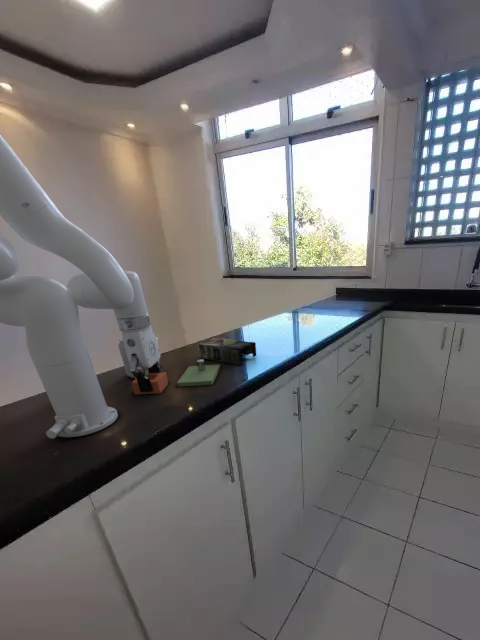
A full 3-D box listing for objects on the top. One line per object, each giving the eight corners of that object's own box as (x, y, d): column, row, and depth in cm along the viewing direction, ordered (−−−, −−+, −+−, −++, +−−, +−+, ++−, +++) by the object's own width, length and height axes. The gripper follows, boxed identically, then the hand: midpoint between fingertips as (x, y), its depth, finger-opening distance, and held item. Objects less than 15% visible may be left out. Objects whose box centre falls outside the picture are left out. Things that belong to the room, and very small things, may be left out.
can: (157, 370, 102) (148, 334, 96) (145, 379, 95) (134, 341, 90) (136, 370, 103) (126, 334, 97) (122, 379, 96) (110, 341, 91)
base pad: (212, 384, 89) (210, 371, 88) (177, 386, 89) (174, 373, 87) (220, 367, 102) (218, 355, 100) (189, 369, 102) (187, 357, 100)
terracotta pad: (160, 393, 85) (157, 381, 84) (134, 394, 85) (131, 383, 83) (168, 383, 92) (165, 372, 90) (144, 384, 91) (141, 373, 90)
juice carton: (196, 358, 112) (193, 341, 109) (215, 351, 119) (213, 335, 117) (240, 366, 103) (238, 348, 100) (258, 358, 111) (256, 341, 108)
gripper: (135, 330, 72) (154, 398, 80) (160, 315, 88) (174, 373, 96) (102, 332, 72) (125, 400, 80) (133, 316, 87) (149, 374, 95)
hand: (151, 385), depth 88 cm, fingers closed on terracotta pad, 7 cm apart
